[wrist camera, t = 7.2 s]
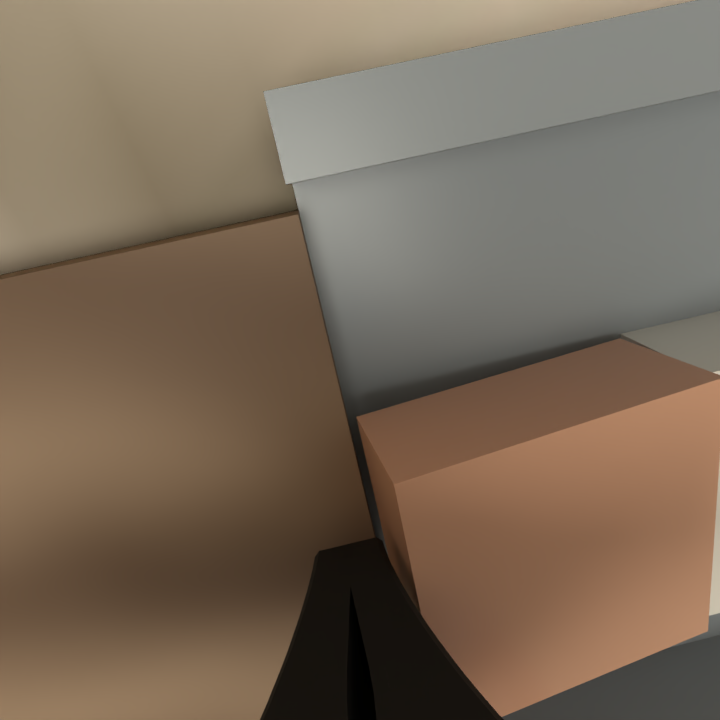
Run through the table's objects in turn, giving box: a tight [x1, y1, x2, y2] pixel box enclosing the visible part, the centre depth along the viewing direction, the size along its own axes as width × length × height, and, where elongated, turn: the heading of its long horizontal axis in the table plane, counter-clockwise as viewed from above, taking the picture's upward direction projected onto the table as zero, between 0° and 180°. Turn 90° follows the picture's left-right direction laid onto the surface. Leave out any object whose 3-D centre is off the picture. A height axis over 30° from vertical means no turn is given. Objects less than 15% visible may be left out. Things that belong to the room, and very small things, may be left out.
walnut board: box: [0, 210, 376, 720], centre depth 11 cm, size 14×16×2 cm
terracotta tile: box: [356, 338, 720, 717], centre depth 10 cm, size 6×6×2 cm
